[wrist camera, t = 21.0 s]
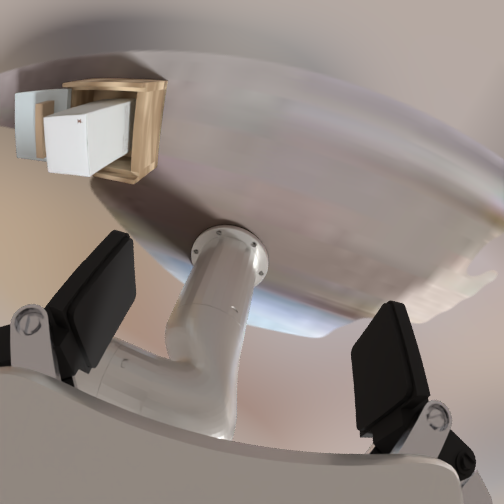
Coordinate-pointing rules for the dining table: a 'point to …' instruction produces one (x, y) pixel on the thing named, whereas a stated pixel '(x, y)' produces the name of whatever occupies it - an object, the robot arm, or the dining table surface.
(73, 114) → the supplement box
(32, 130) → the lid
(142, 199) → the dining table surface
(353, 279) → the dining table surface
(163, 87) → the box
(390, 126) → the dining table surface
